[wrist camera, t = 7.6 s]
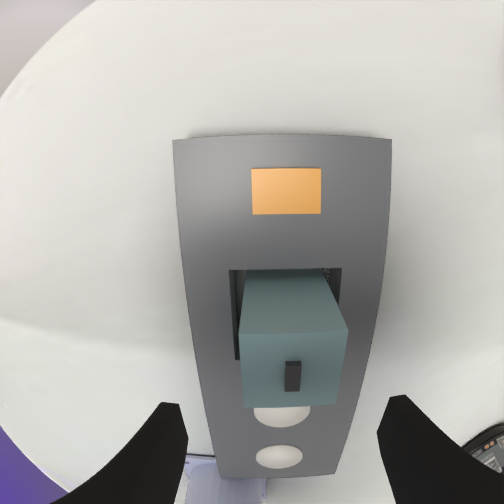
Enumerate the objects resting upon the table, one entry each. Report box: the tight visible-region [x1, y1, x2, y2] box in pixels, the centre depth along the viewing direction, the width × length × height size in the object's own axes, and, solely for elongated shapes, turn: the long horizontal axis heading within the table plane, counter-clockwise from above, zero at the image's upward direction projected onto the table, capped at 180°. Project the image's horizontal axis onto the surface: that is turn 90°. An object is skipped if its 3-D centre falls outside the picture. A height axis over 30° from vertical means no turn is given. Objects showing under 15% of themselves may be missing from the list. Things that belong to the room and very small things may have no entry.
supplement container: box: [462, 425, 504, 475], centre depth 19 cm, size 10×10×12 cm
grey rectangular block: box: [238, 268, 348, 408], centre depth 15 cm, size 4×4×7 cm
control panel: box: [172, 134, 392, 478], centre depth 18 cm, size 26×10×3 cm, turn 2°
